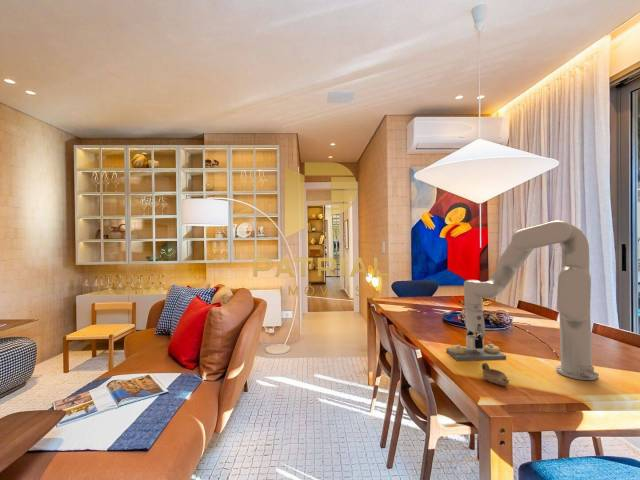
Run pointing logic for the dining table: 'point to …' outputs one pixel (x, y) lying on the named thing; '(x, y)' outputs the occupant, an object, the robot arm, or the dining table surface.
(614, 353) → the dining table surface
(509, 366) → the dining table surface
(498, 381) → the brown duck figurine
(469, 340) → the loose gear
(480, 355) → the gear board
